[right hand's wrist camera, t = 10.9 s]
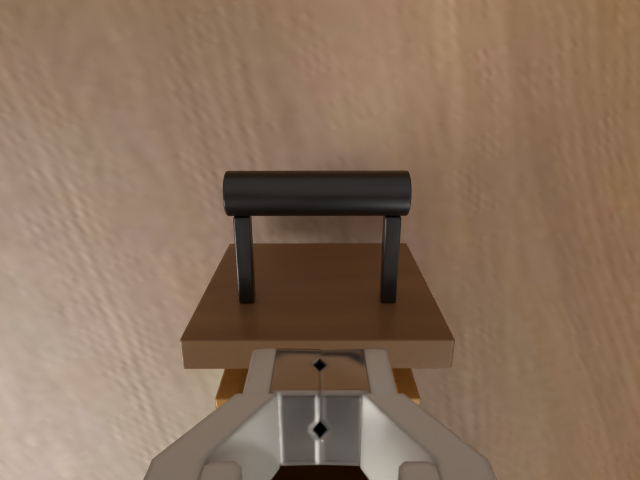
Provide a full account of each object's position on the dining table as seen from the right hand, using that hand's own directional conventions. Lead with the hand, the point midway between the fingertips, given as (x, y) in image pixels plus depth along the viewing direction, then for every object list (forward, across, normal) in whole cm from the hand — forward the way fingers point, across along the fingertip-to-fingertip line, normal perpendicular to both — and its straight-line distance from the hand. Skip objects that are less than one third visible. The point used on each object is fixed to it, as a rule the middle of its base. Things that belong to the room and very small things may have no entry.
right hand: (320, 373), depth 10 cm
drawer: (+14, 0, -9) cm, 17 cm away
